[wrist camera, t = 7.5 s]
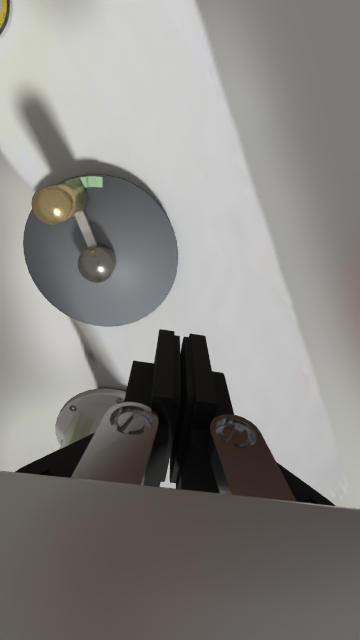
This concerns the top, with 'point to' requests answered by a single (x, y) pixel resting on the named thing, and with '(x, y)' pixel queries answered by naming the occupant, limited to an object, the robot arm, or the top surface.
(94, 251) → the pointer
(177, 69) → the top surface
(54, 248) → the dial plate
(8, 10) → the supplement bottle
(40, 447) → the top surface
